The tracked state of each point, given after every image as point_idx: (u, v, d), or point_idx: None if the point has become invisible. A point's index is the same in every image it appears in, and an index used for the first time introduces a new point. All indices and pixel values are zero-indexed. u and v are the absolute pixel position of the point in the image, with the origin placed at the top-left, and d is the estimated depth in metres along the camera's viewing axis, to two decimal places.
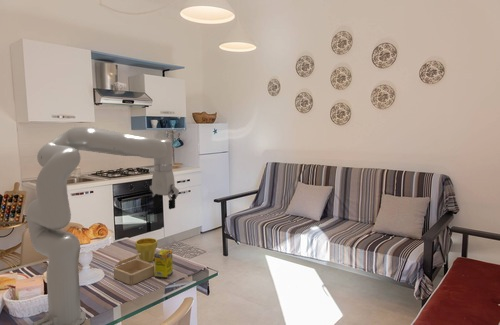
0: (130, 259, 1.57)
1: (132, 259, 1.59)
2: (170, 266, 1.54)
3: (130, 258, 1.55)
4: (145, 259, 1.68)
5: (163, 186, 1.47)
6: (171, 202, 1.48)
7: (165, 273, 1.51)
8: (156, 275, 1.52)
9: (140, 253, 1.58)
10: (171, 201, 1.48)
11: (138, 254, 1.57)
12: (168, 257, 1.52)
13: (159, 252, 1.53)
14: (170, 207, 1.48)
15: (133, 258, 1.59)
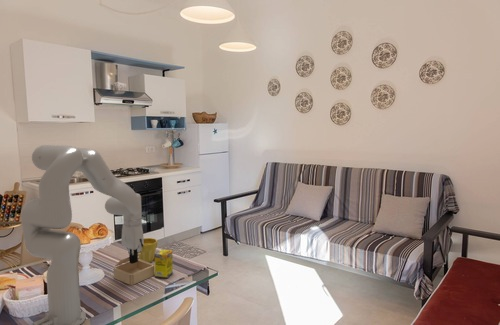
0: None
1: None
2: (170, 266, 1.54)
3: None
4: (145, 259, 1.68)
5: (131, 241, 1.48)
6: (133, 257, 1.52)
7: (165, 273, 1.51)
8: (156, 275, 1.52)
9: (140, 253, 1.58)
10: (133, 256, 1.52)
11: (138, 254, 1.57)
12: (168, 257, 1.52)
13: (159, 252, 1.53)
14: (132, 261, 1.52)
15: None
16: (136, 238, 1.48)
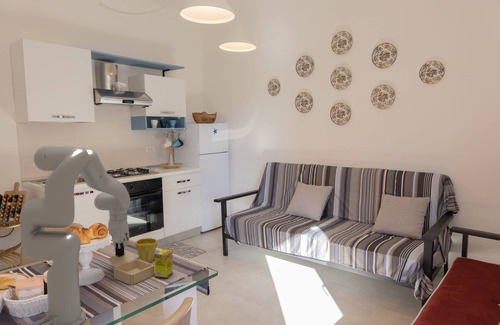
0: (125, 258, 1.59)
1: (130, 259, 1.60)
2: (170, 266, 1.54)
3: (121, 256, 1.59)
4: (145, 259, 1.68)
5: (117, 235, 1.54)
6: (119, 250, 1.58)
7: (165, 273, 1.51)
8: (156, 275, 1.52)
9: (128, 251, 1.63)
10: (119, 249, 1.58)
11: (126, 252, 1.62)
12: (168, 257, 1.52)
13: (159, 252, 1.53)
14: (119, 255, 1.58)
15: (129, 257, 1.60)
16: (121, 232, 1.54)
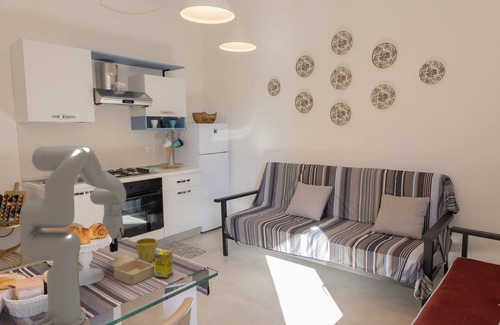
0: (125, 260, 1.59)
1: (130, 259, 1.60)
2: (170, 266, 1.54)
3: (121, 259, 1.59)
4: (145, 259, 1.68)
5: (111, 230, 1.55)
6: (113, 246, 1.58)
7: (165, 273, 1.51)
8: (156, 275, 1.52)
9: None
10: (113, 245, 1.58)
11: (125, 255, 1.63)
12: (168, 257, 1.52)
13: (159, 252, 1.53)
14: (112, 250, 1.58)
15: (129, 259, 1.60)
16: (116, 227, 1.55)
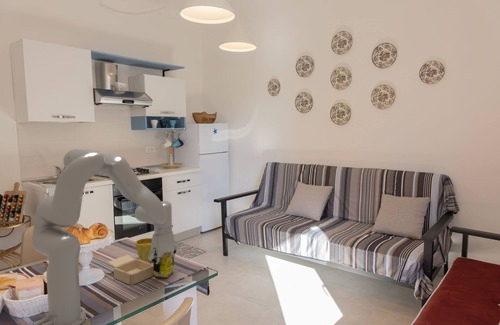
0: (125, 260, 1.59)
1: (130, 259, 1.60)
2: (170, 266, 1.54)
3: (121, 259, 1.59)
4: (145, 259, 1.68)
5: None
6: None
7: (165, 273, 1.51)
8: (156, 275, 1.52)
9: None
10: None
11: (125, 255, 1.63)
12: (168, 257, 1.52)
13: None
14: (154, 269, 1.51)
15: (129, 259, 1.61)
16: (151, 245, 1.50)
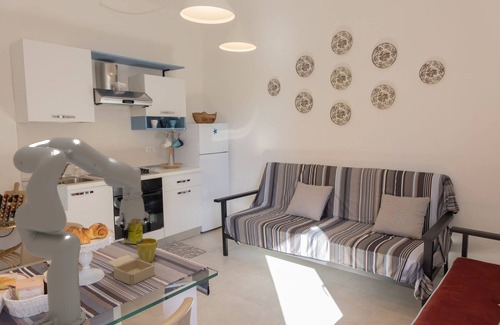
0: (125, 260, 1.59)
1: (130, 259, 1.60)
2: (139, 233, 1.51)
3: (121, 259, 1.59)
4: (145, 259, 1.68)
5: None
6: None
7: (134, 239, 1.49)
8: (125, 242, 1.50)
9: None
10: None
11: (125, 255, 1.63)
12: (137, 223, 1.49)
13: None
14: None
15: (129, 259, 1.61)
16: (120, 211, 1.47)
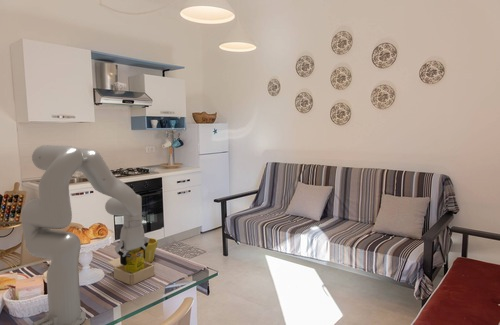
0: None
1: None
2: (140, 265, 1.53)
3: None
4: (145, 259, 1.68)
5: None
6: None
7: (135, 272, 1.50)
8: None
9: None
10: None
11: None
12: (138, 256, 1.51)
13: (129, 251, 1.52)
14: (121, 262, 1.49)
15: None
16: (120, 238, 1.48)
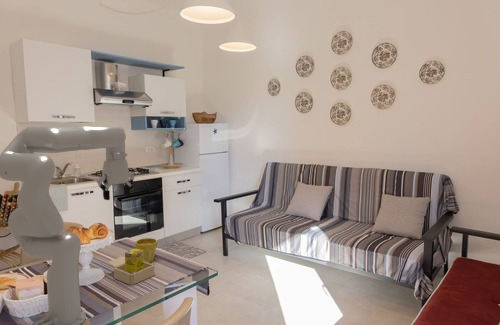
0: None
1: None
2: (140, 265, 1.53)
3: (121, 259, 1.59)
4: (145, 259, 1.68)
5: None
6: None
7: None
8: None
9: None
10: None
11: None
12: (138, 256, 1.51)
13: (130, 251, 1.52)
14: (104, 197, 1.42)
15: None
16: (103, 172, 1.42)
